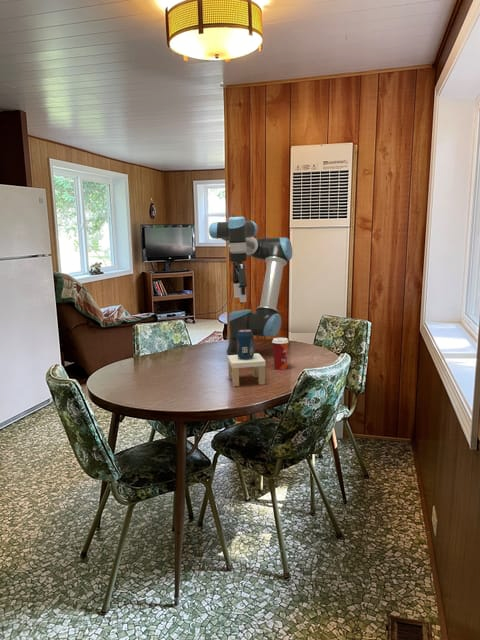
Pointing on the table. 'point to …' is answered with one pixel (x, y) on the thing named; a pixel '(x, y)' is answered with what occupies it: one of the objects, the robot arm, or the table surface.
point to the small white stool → (237, 363)
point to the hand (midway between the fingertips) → (240, 299)
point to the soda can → (245, 344)
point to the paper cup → (280, 353)
